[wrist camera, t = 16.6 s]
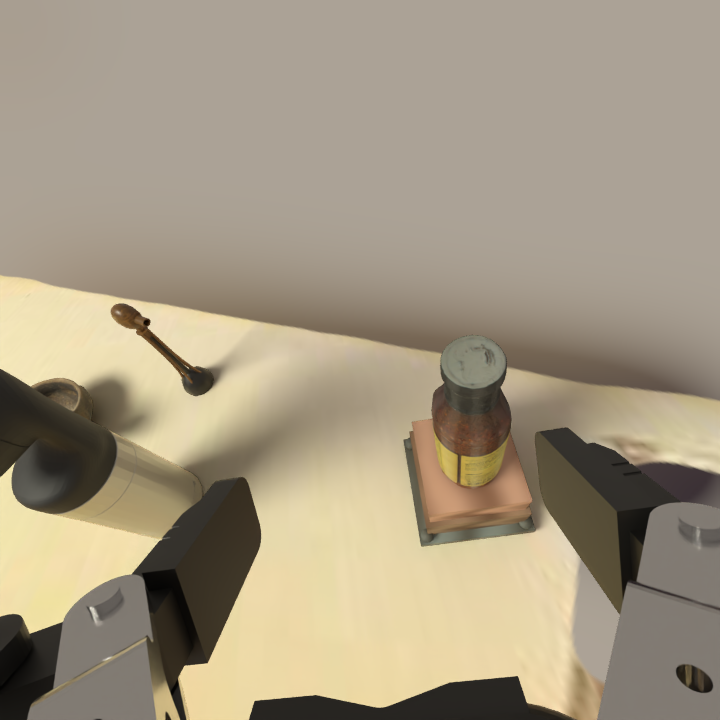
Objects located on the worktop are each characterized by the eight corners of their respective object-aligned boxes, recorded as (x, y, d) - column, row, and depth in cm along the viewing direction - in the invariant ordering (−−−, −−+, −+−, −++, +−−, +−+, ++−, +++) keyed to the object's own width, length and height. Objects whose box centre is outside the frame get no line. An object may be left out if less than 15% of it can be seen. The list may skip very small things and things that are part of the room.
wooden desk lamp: (223, 377, 65) (147, 298, 48) (207, 401, 63) (122, 327, 46) (197, 367, 67) (115, 289, 50) (181, 390, 65) (90, 316, 48)
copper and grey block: (421, 546, 46) (416, 533, 38) (404, 442, 53) (396, 412, 45) (533, 532, 45) (554, 515, 37) (500, 427, 52) (511, 393, 44)
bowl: (71, 382, 71) (22, 353, 62) (137, 414, 64) (91, 386, 56) (11, 451, 65) (-53, 428, 57) (76, 493, 58) (16, 475, 50)
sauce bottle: (507, 446, 41) (551, 337, 24) (487, 502, 38) (521, 423, 22) (447, 423, 43) (449, 309, 27) (425, 474, 41) (412, 384, 24)
